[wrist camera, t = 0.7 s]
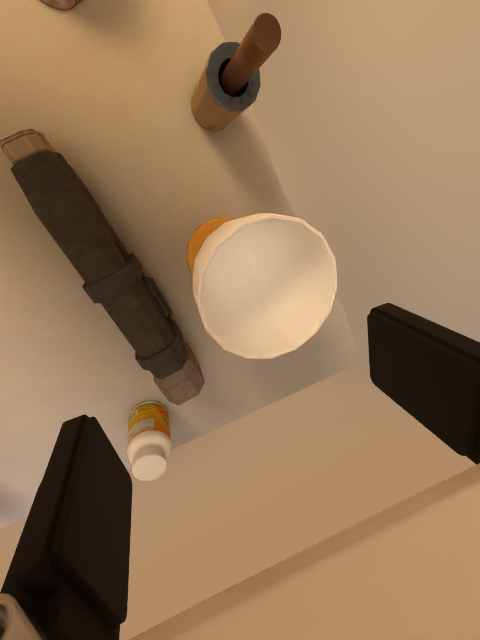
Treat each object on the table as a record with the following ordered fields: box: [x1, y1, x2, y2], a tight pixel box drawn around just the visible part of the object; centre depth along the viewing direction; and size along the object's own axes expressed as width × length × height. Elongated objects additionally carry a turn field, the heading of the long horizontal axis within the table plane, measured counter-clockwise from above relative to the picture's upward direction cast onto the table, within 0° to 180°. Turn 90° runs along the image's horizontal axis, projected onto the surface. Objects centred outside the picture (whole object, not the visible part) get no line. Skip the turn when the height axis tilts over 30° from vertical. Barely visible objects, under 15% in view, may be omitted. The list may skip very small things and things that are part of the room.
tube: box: [0, 129, 205, 405], centre depth 33 cm, size 11×7×30 cm
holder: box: [191, 42, 260, 131], centre depth 28 cm, size 4×4×9 cm
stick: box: [219, 13, 281, 97], centre depth 25 cm, size 2×2×16 cm
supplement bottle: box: [127, 401, 171, 481], centre depth 40 cm, size 5×5×10 cm
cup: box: [187, 213, 338, 359], centre depth 31 cm, size 12×12×17 cm
